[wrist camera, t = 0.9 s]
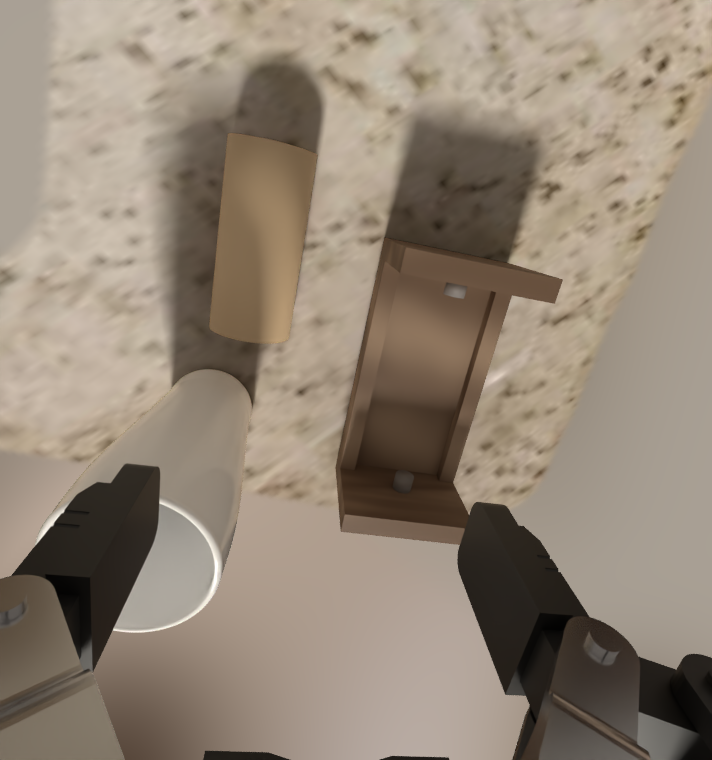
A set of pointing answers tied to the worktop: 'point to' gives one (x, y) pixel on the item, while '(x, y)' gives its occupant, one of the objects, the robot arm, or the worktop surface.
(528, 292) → the holder
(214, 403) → the drinking glass
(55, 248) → the worktop surface
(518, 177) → the worktop surface
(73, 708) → the robot arm
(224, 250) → the roll
